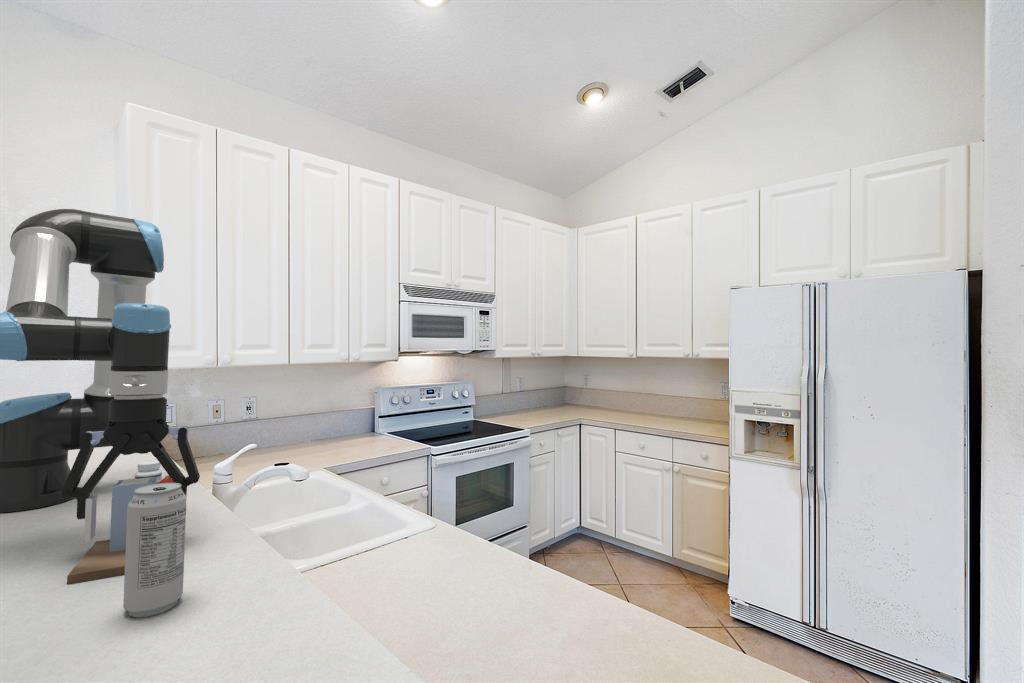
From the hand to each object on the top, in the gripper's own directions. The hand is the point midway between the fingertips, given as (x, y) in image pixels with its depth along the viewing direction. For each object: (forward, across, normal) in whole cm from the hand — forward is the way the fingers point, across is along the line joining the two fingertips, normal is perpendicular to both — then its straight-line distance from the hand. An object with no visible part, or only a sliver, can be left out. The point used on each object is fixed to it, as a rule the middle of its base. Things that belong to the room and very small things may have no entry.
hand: (133, 532), depth 76 cm
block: (+2, 0, 0) cm, 2 cm away
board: (+3, 0, -3) cm, 4 cm away
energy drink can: (+3, +6, -23) cm, 24 cm away
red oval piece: (+3, +2, +19) cm, 19 cm away
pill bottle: (+3, -3, +33) cm, 33 cm away
